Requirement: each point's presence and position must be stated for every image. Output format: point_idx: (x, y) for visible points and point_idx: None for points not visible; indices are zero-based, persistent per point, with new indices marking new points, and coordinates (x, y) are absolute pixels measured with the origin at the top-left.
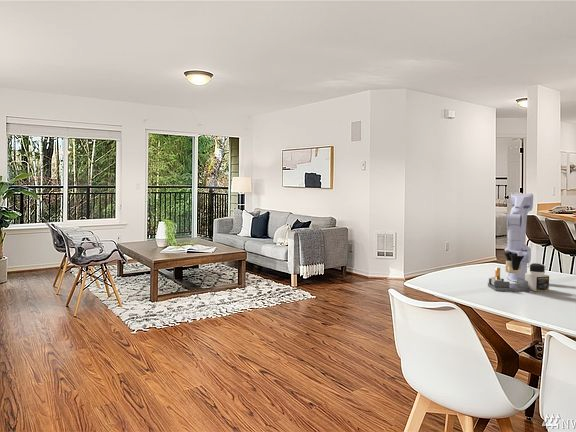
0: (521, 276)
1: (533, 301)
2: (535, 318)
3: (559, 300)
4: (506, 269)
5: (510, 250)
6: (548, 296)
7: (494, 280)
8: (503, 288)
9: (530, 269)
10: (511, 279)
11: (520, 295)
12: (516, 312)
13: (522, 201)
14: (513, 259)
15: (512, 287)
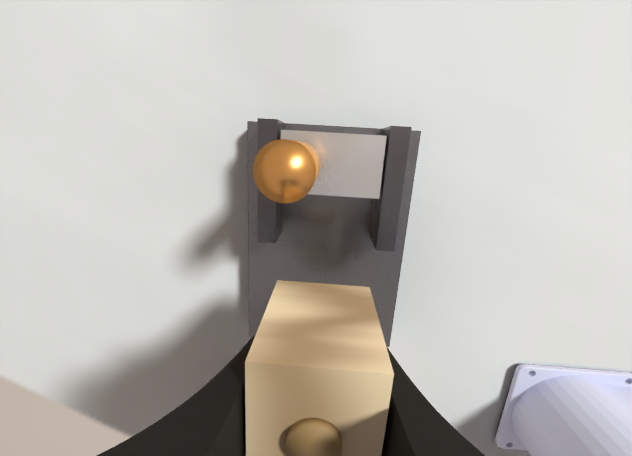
0: (532, 435)
1: (18, 237)
2: None
3: (78, 371)
4: (348, 297)
5: None
6: (154, 365)
7: (293, 130)
8: (248, 179)
9: None
10: (565, 374)
11: (151, 233)
12: None
13: None
14: (139, 442)
15: (267, 250)
